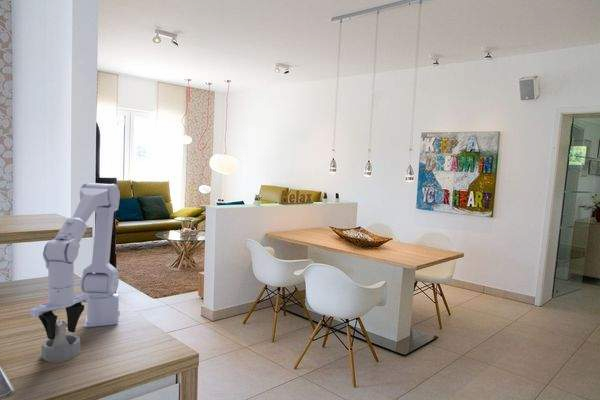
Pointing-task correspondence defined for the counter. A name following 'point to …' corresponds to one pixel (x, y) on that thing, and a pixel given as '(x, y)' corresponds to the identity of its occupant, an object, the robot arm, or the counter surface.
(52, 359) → the grey faceted bowl
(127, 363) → the counter surface
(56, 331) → the rook chess piece
